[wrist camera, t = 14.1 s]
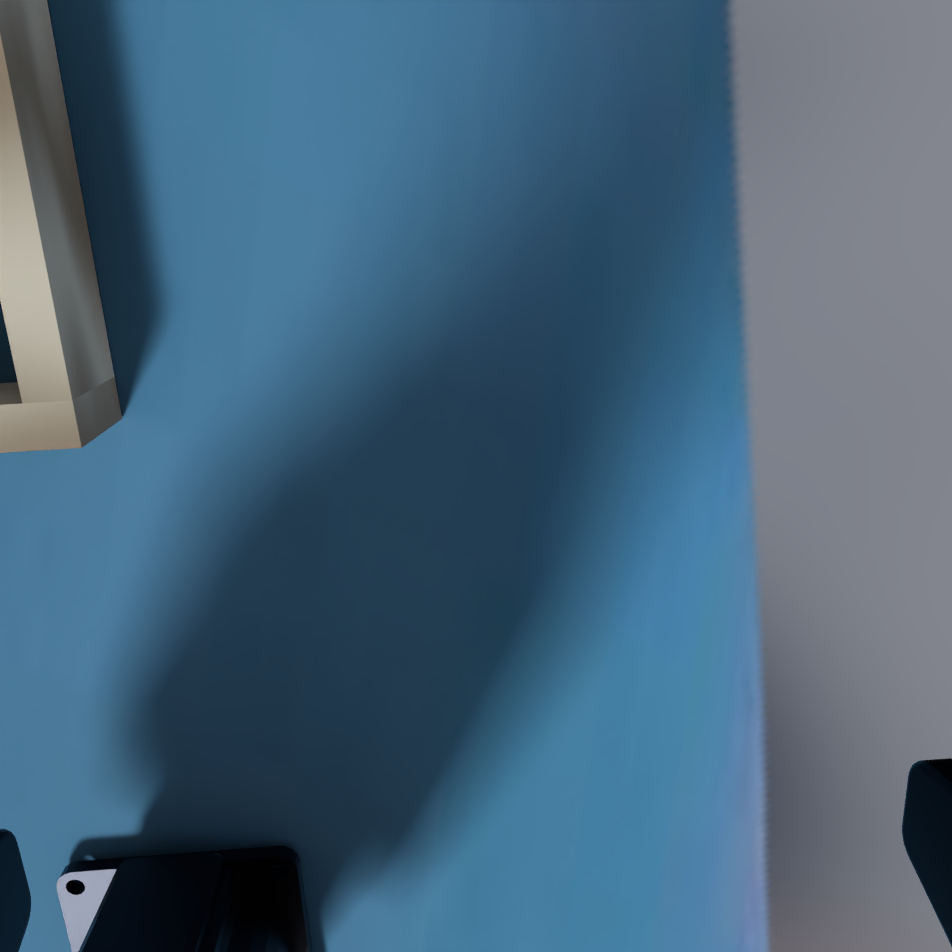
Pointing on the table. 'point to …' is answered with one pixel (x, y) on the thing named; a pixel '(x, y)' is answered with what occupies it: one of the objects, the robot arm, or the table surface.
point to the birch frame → (46, 254)
